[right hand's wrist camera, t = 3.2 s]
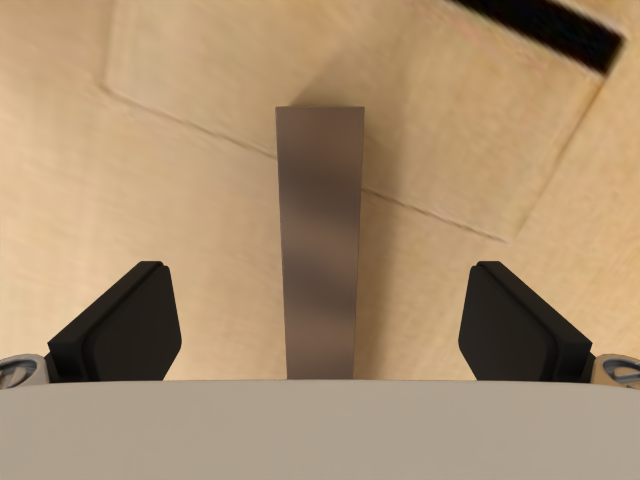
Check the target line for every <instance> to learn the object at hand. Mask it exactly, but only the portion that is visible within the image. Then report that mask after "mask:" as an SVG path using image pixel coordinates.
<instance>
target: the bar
mask: <svg viewBox="0 0 640 480" xmlns="http://www.w3.org/2000/svg"><path fill="white" fill-rule="evenodd" d="M276 131H277V154H278V177H279V200H280V223H281V247H282V270H283V293H284V316H285V339H286V362H287V380H353V363H354V339H355V316H356V293H357V270H358V247H359V224H360V200H361V177H362V154H363V131H364V107H357V106H283V107H276Z"/></svg>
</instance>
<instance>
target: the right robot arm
mask: <svg viewBox="0 0 640 480" xmlns="http://www.w3.org/2000/svg"><path fill="white" fill-rule="evenodd" d="M181 343H182V338H181V332H180V326H179V321H178V315H177V309H176V303H175V297H174V292H173V286H172V280H171V274H170V270H169V267H168V266H164V265H163V263H162V262H161V261H141V262H139V263H138V264H137V265H136V266H135V267H133V268H132V269H131V270H130V271H129V272H128V273H127V274H125V275H124V276H123V277H122V278H121V279H120V280H119V281H117V282H116V283H115V284H114V285H113V286H112V287H111V288H109V289H108V290H107V291H106V292H105V293H104V294H103V295H101V296H100V297H99V298H98V299H97V300H96V301H95V302H93V303H92V304H91V305H90V306H89V307H88V308H87V309H85V310H84V311H83V312H82V313H81V314H80V315H79V316H77V317H76V318H75V319H74V320H73V321H72V322H71V323H69V324H68V325H67V326H66V327H65V328H64V329H63V330H61V331H60V332H59V333H58V334H57V335H56V336H55V337H53V338H52V339H51V340H50V341H49V342H48V343H47V344H48V346H49V349H50V352H49V353H48V354H47V355H46V356H45V357H44V358H43V357H42V356H40V355H37V354H22V355H15V356H12V357H8V358H4V359H2V360H0V480H640V360H638V359H636V358H632V357H628V356H625V355H618V354H603V355H600V356H598V357H597V358H596V357H595V356H594V355H593V354H592V353H591V352H590V349H591V346H592V344H593V343H592V342H591V341H590V340H589V339H588V338H587V337H585V336H584V335H583V334H582V333H581V332H580V331H579V330H577V329H576V328H575V327H574V326H573V325H572V324H571V323H569V322H568V321H567V320H566V319H565V318H564V317H563V316H561V315H560V314H559V313H558V312H557V311H556V310H555V309H553V308H552V307H551V306H550V305H549V304H548V303H547V302H545V301H544V300H543V299H542V298H541V297H540V296H539V295H537V294H536V293H535V292H534V291H533V290H532V289H531V288H529V287H528V286H527V285H526V284H525V283H524V282H523V281H521V280H520V279H519V278H518V277H517V276H516V275H515V274H513V273H512V272H511V271H510V270H509V269H508V268H507V267H505V266H504V265H503V264H502V263H501V262H499V261H479V262H478V263H477V265H476V266H472V267H471V270H470V274H469V280H468V286H467V292H466V297H465V303H464V309H463V315H462V321H461V326H460V332H459V338H458V343H459V348H460V351H461V353H462V354H463V356H464V358H465V360H466V361H467V363H468V365H469V367H470V368H471V370H472V372H473V374H474V375H475V377H476V379H477V381H454V380H186V381H163V379H164V377H165V375H166V374H167V372H168V370H169V368H170V367H171V365H172V363H173V361H174V360H175V358H176V356H177V354H178V353H179V351H180V348H181Z"/></svg>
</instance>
